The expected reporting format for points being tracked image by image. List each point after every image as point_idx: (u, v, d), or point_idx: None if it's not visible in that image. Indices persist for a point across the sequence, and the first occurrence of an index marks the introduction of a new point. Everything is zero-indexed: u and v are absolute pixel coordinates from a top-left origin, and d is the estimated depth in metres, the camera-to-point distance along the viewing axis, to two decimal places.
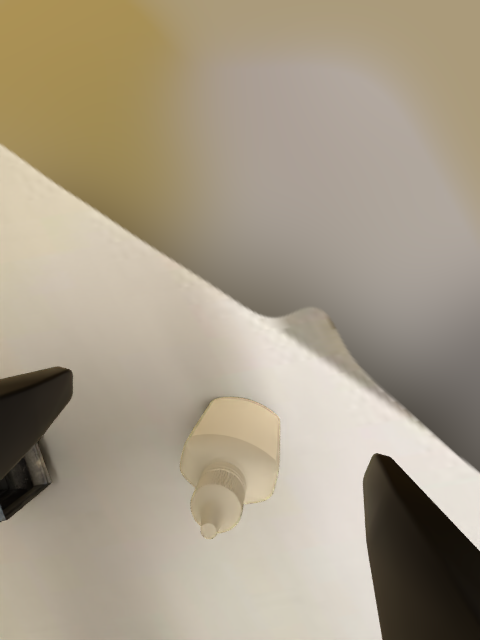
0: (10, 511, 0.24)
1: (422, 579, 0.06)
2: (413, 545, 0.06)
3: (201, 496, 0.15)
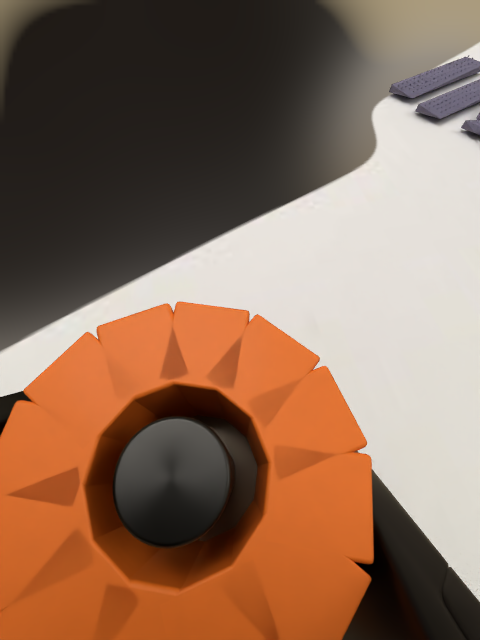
0: None
1: None
2: None
3: None
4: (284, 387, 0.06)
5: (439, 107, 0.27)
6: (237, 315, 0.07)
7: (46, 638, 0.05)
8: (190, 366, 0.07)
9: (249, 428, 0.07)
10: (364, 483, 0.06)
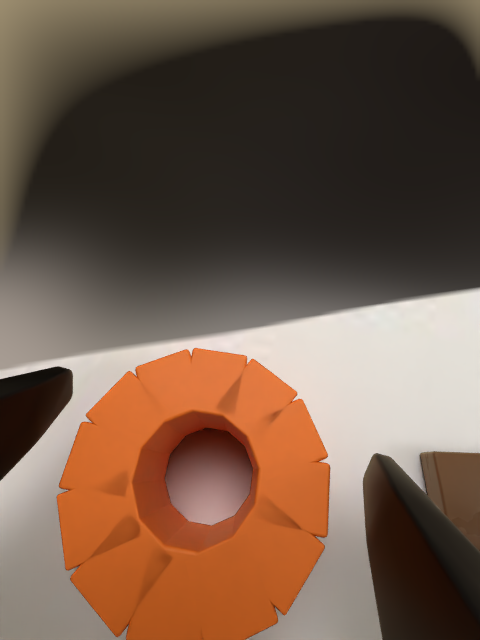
0: None
1: (422, 579, 0.06)
2: (413, 545, 0.06)
3: None
4: (271, 414, 0.09)
5: None
6: (238, 360, 0.10)
7: (112, 580, 0.07)
8: (203, 398, 0.09)
9: (246, 441, 0.10)
10: (323, 483, 0.08)
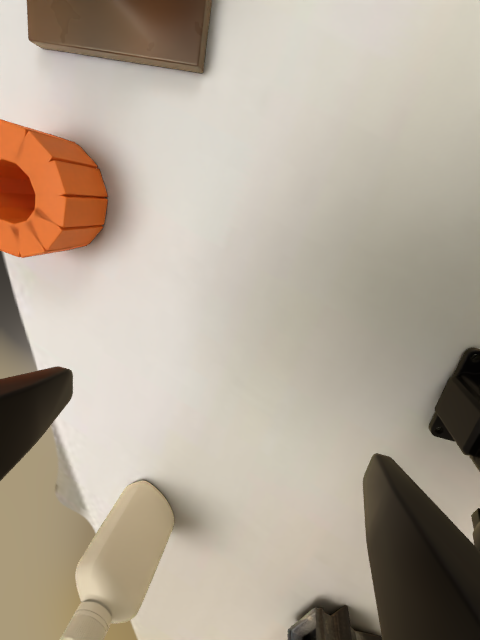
0: None
1: (422, 579, 0.06)
2: (413, 545, 0.06)
3: None
4: None
5: None
6: None
7: (45, 232, 0.18)
8: None
9: (11, 166, 0.19)
10: (4, 124, 0.17)
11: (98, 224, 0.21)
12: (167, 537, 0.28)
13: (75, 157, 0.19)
